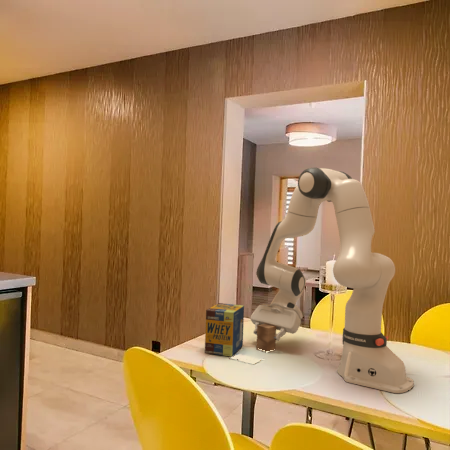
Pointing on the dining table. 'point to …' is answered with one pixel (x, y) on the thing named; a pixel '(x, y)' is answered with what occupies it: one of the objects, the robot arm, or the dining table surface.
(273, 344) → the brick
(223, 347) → the protein box
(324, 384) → the dining table surface
